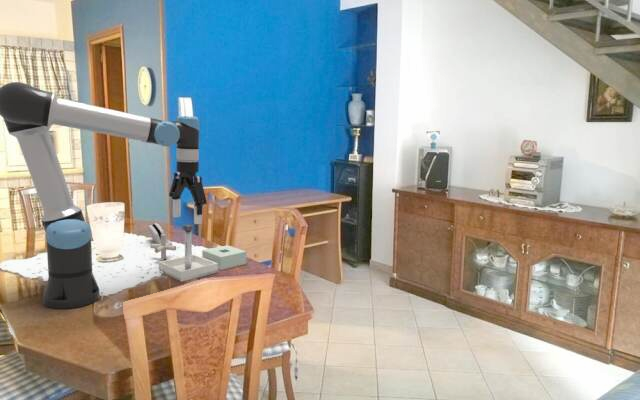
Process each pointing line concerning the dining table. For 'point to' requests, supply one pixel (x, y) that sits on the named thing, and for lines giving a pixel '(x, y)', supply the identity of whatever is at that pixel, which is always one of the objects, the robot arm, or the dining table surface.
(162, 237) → the pipe connector
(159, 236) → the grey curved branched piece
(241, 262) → the block
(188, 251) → the steel pin
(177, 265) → the tray
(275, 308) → the dining table surface
